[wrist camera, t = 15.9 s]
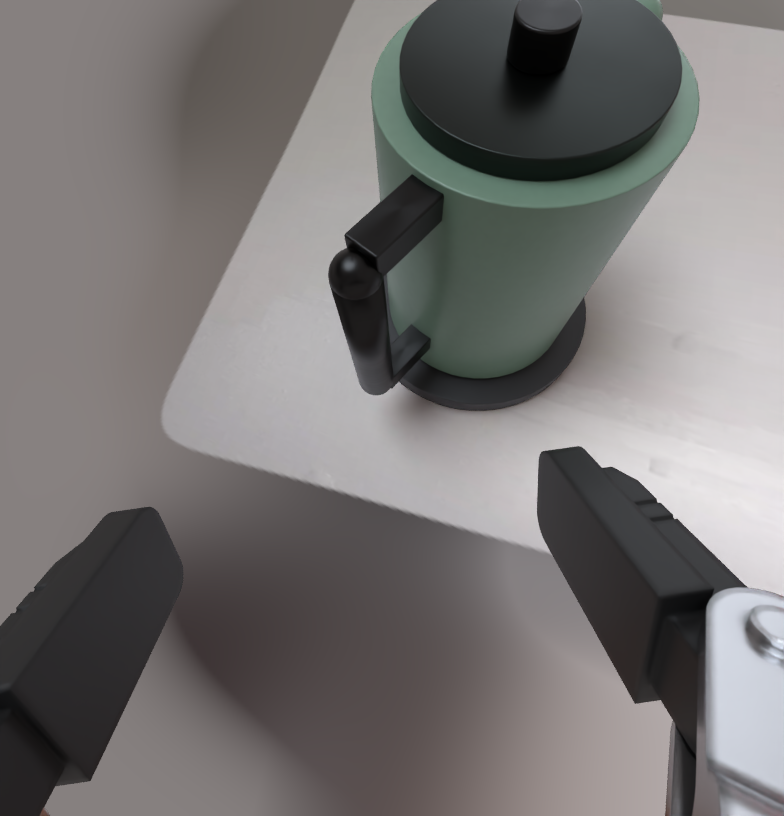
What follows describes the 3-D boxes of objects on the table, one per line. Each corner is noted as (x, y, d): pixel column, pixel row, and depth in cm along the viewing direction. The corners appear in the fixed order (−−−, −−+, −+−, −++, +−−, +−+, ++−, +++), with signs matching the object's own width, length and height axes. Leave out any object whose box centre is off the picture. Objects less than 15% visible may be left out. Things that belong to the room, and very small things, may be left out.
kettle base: (532, 449, 25) (538, 444, 24) (330, 355, 27) (327, 346, 26) (607, 271, 29) (615, 259, 27) (423, 204, 31) (424, 191, 30)
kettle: (442, 471, 23) (493, 342, 9) (305, 355, 26) (176, 113, 12) (632, 250, 27) (872, -77, 13) (497, 170, 30) (574, -172, 16)
